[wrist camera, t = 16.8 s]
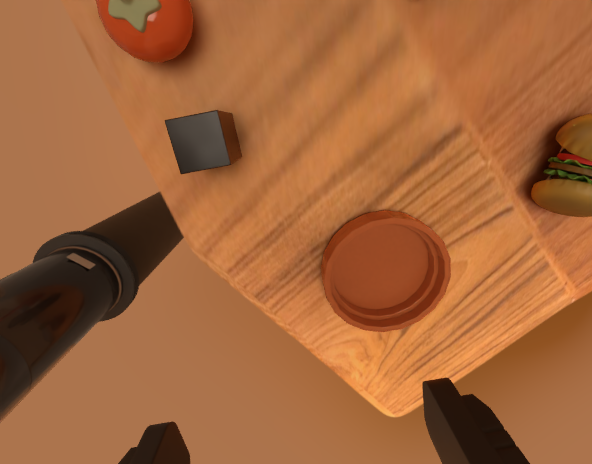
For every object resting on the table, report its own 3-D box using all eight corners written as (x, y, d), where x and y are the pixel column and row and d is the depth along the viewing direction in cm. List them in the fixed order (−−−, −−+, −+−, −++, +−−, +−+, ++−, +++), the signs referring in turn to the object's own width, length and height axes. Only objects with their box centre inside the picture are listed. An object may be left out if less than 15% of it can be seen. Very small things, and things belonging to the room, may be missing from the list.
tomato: (191, -29, 27) (154, -89, 20) (212, 62, 30) (187, 40, 22) (112, -13, 28) (45, -66, 20) (140, 76, 30) (90, 59, 22)
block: (202, 164, 33) (180, 174, 26) (189, 121, 32) (164, 120, 25) (242, 157, 33) (230, 164, 26) (232, 113, 31) (217, 110, 25)
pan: (329, 322, 40) (333, 340, 37) (312, 221, 35) (315, 231, 32) (437, 304, 40) (451, 320, 36) (435, 199, 35) (450, 207, 32)
